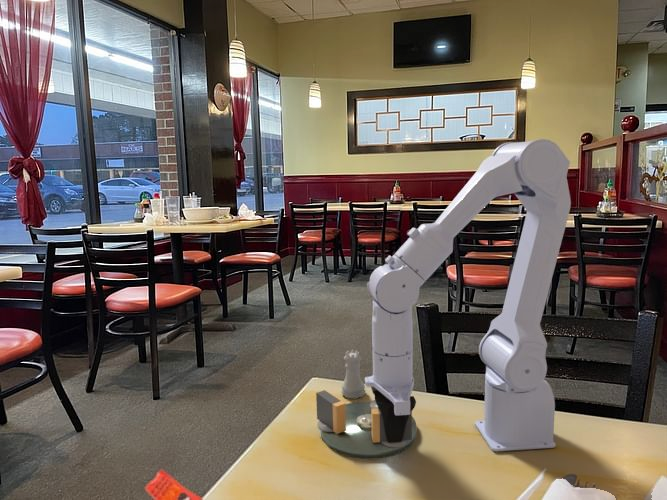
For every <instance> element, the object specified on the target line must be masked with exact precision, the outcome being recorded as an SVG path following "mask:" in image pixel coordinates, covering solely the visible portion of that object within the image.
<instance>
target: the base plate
mask: <svg viewBox="0 0 667 500" xmlns="http://www.w3.org/2000/svg"><path fill="white" fill-rule="evenodd" d="M371 402H372V401H355V402H349V403H345V415H346V431H344V432H341V433H338V434H336V433H335V432H324V431H321V430H320V435H321V438H322V441H323V443H324V444H325V445H326V446H327V447H329V448H330V449H331V450H333V451H335V452H336V453H338V454H342V455H344V456H348V457H350V458H351V457H352V458H355V459H356V458H357V459H368V460H370V459H382V458H383V459H384V458H389V457H392V456H394V455H395V456H396V455H398V454H401V453H402V452H404V451H406V450H407V449H409V448H410V447H411V446H412V445H413V443H414V442H415V441H416V438H417V423H416V420H415V418H414V417H413V416H412V440H407V442H406V444H405V445H404V446H401V447H397V448H391V447H387V446H384V445H383V444H381V442H375V443H373V440H372V435H371V408H370V403H371Z"/></svg>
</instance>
